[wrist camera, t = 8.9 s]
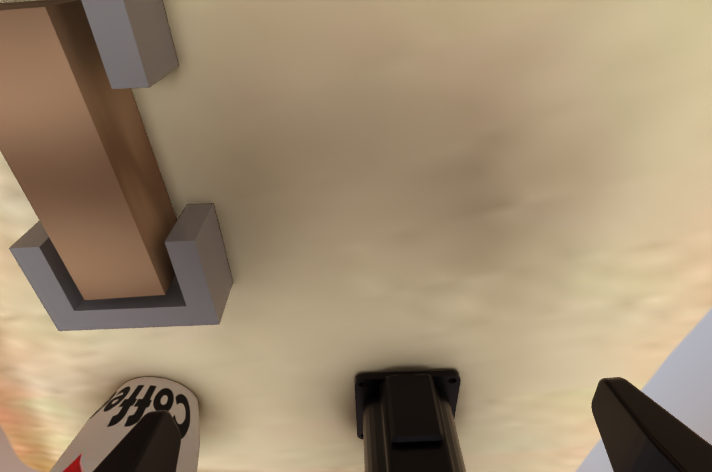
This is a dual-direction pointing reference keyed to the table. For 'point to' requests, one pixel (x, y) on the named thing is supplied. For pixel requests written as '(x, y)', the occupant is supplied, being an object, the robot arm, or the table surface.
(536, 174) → the table surface
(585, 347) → the table surface
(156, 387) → the cup
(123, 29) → the end cap
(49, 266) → the end cap
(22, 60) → the slat
